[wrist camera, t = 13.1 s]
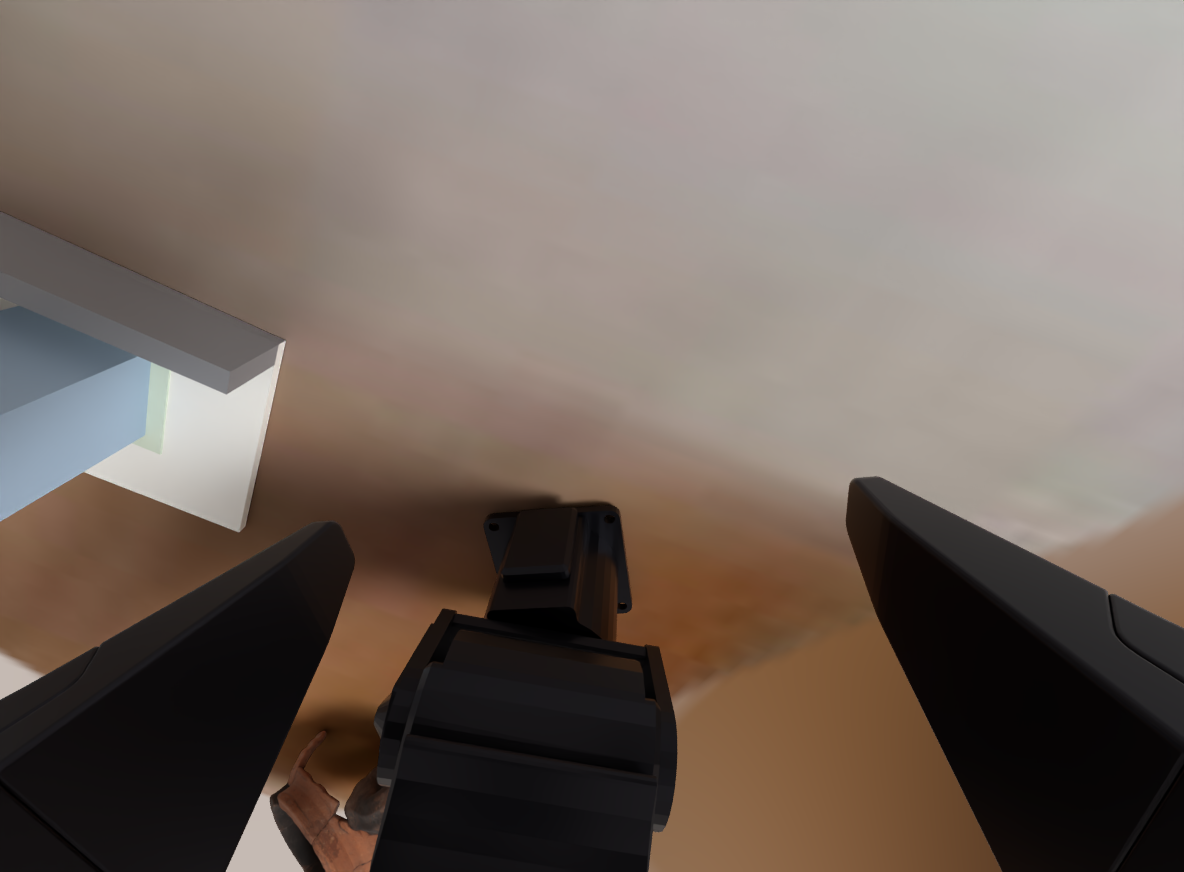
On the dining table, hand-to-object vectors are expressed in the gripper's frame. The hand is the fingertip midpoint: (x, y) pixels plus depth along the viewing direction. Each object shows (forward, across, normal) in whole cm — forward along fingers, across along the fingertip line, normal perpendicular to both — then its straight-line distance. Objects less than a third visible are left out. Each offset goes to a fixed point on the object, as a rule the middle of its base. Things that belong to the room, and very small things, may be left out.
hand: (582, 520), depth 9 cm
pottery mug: (+13, +18, +28) cm, 36 cm away
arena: (+13, +22, +1) cm, 25 cm away
